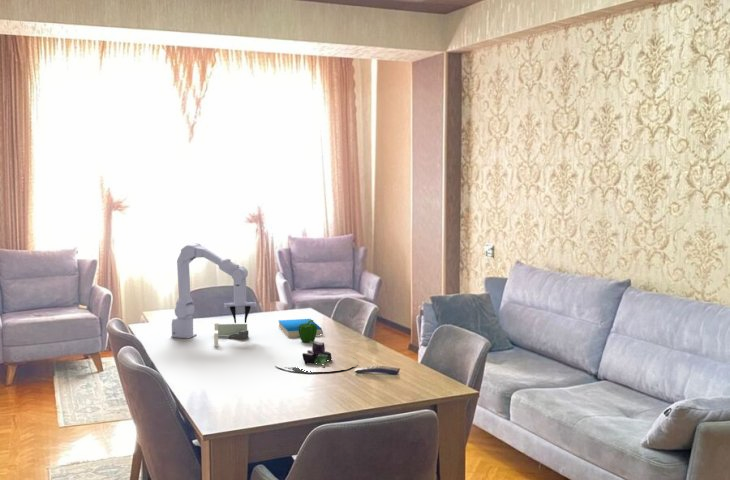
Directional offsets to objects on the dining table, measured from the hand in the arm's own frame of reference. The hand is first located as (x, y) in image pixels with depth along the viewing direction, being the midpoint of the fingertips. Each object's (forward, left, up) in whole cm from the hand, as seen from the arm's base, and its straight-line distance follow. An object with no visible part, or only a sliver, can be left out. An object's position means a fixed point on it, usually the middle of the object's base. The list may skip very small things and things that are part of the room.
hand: (240, 322), depth 346 cm
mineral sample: (+46, -33, -9) cm, 57 cm away
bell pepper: (+31, +3, -8) cm, 33 cm away
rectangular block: (-11, -4, -8) cm, 14 cm away
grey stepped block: (-2, +2, -8) cm, 9 cm away
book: (+21, +24, -9) cm, 33 cm away
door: (-6, +6, -8) cm, 11 cm away
